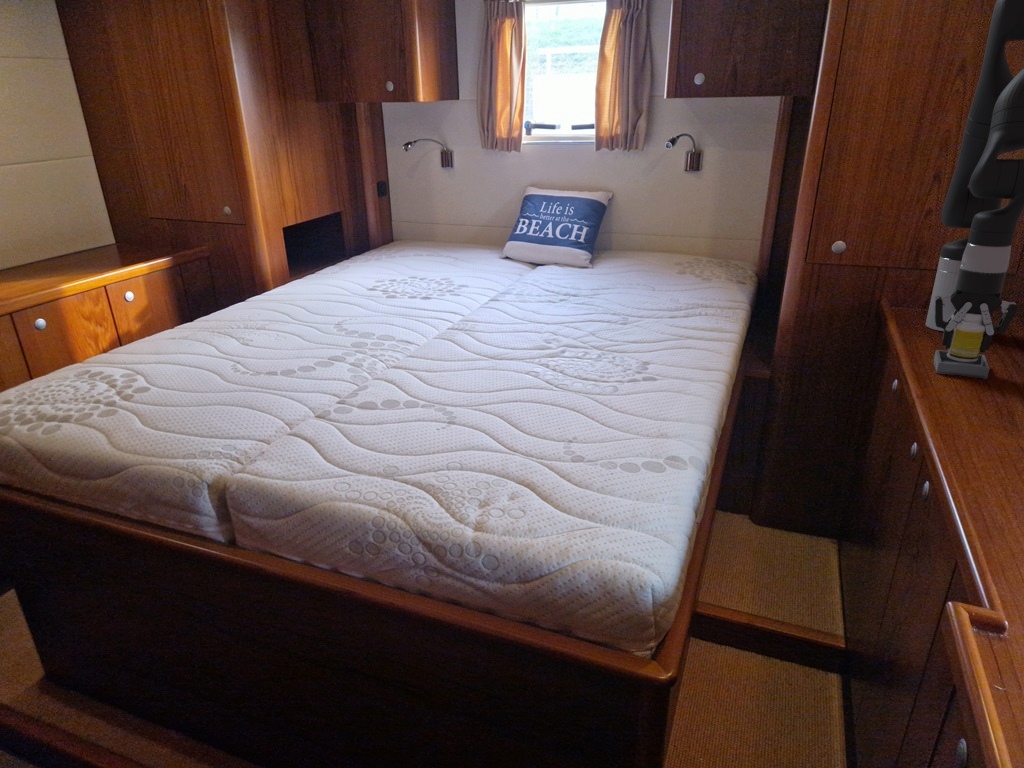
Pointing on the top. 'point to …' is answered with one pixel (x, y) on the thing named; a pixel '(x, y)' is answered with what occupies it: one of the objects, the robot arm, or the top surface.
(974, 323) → the supplement bottle
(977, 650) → the top surface
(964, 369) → the tray
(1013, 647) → the top surface
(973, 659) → the top surface
